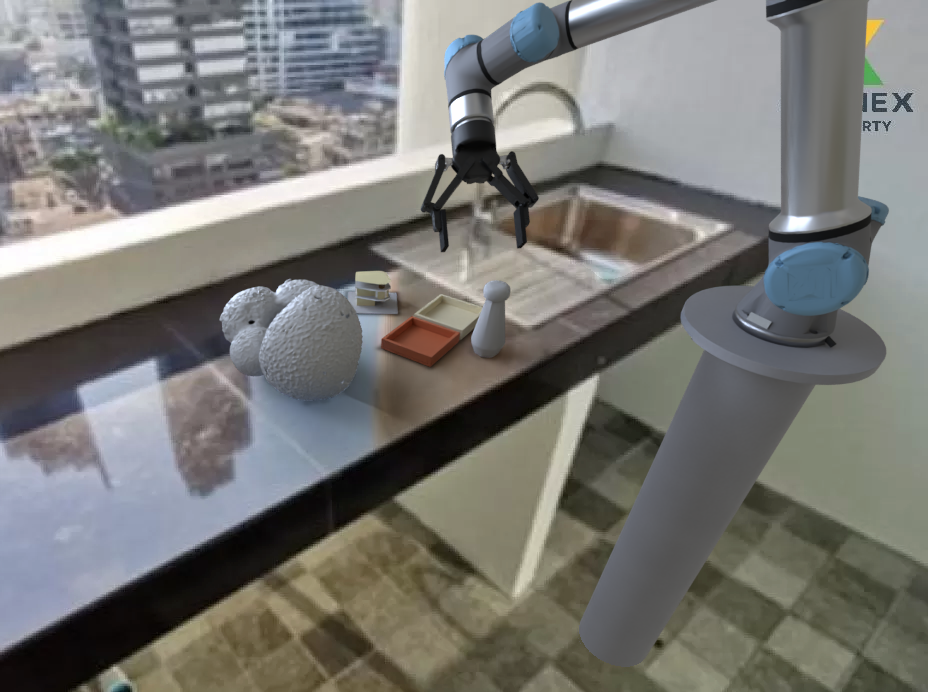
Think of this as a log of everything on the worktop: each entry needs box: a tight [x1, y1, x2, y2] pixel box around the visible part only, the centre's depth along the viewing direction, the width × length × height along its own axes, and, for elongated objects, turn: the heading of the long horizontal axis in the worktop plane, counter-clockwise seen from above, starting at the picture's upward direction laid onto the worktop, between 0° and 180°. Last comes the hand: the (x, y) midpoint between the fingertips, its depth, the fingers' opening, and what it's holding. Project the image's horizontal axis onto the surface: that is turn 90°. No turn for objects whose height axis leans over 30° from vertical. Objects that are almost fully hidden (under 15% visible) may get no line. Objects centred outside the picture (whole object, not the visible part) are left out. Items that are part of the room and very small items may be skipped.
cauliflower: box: [219, 278, 363, 402], centre depth 96 cm, size 20×25×22 cm
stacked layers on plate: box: [347, 270, 399, 315], centre depth 120 cm, size 10×9×6 cm
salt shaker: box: [470, 279, 511, 359], centre depth 103 cm, size 6×6×13 cm
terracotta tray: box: [380, 315, 460, 368], centre depth 108 cm, size 10×10×2 cm
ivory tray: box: [413, 293, 483, 341], centre depth 115 cm, size 10×10×2 cm
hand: (483, 247), depth 104 cm, fingers open, 13 cm apart
